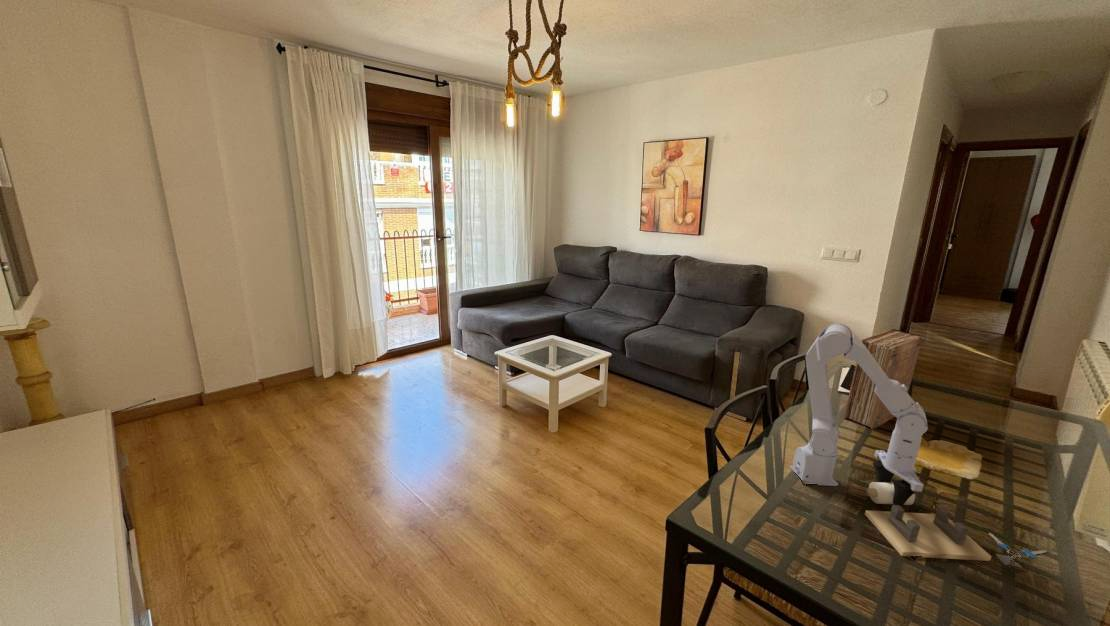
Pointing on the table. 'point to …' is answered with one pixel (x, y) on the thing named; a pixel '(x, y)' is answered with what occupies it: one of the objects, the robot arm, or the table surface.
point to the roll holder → (926, 534)
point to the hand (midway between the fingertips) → (889, 496)
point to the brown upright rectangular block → (898, 364)
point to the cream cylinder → (885, 493)
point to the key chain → (1007, 558)
